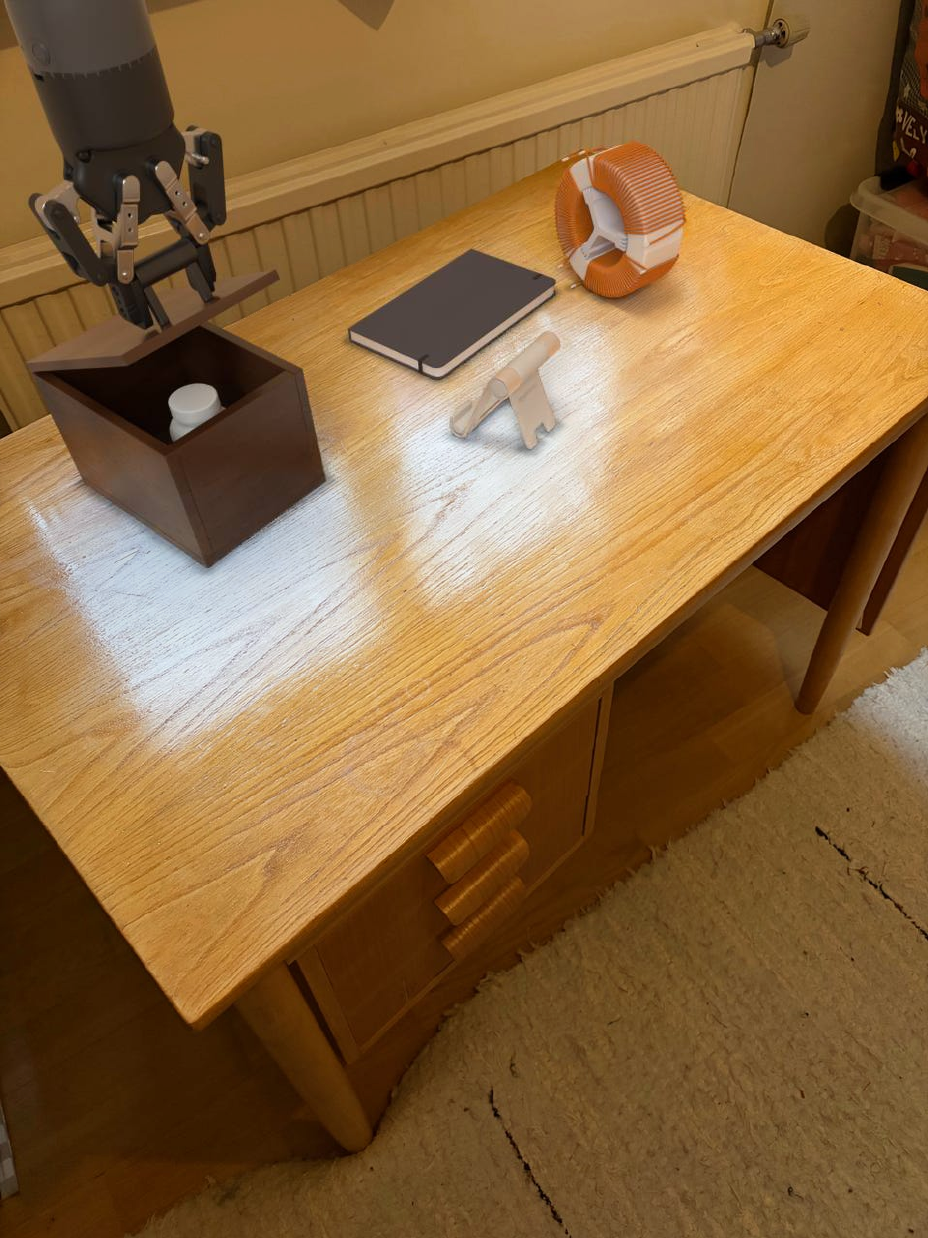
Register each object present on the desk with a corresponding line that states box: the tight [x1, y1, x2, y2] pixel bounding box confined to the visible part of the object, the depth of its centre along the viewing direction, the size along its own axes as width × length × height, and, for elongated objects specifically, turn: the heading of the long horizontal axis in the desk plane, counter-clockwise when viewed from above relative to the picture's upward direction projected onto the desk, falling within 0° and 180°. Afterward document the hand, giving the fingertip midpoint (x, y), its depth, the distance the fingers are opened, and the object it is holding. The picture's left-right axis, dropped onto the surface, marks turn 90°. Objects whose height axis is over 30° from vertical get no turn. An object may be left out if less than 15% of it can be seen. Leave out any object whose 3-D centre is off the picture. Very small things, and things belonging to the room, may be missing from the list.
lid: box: [25, 237, 281, 373], centre depth 68 cm, size 19×14×5 cm
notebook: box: [347, 248, 557, 380], centre depth 97 cm, size 13×2×21 cm
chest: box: [30, 320, 327, 569], centre depth 76 cm, size 18×14×12 cm
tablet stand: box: [449, 330, 562, 450], centre depth 82 cm, size 9×8×8 cm
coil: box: [553, 140, 688, 299], centre depth 95 cm, size 7×15×15 cm, turn 37°
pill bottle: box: [169, 384, 226, 442], centre depth 75 cm, size 5×5×10 cm
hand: (172, 306), depth 64 cm, fingers closed on lid, 5 cm apart
